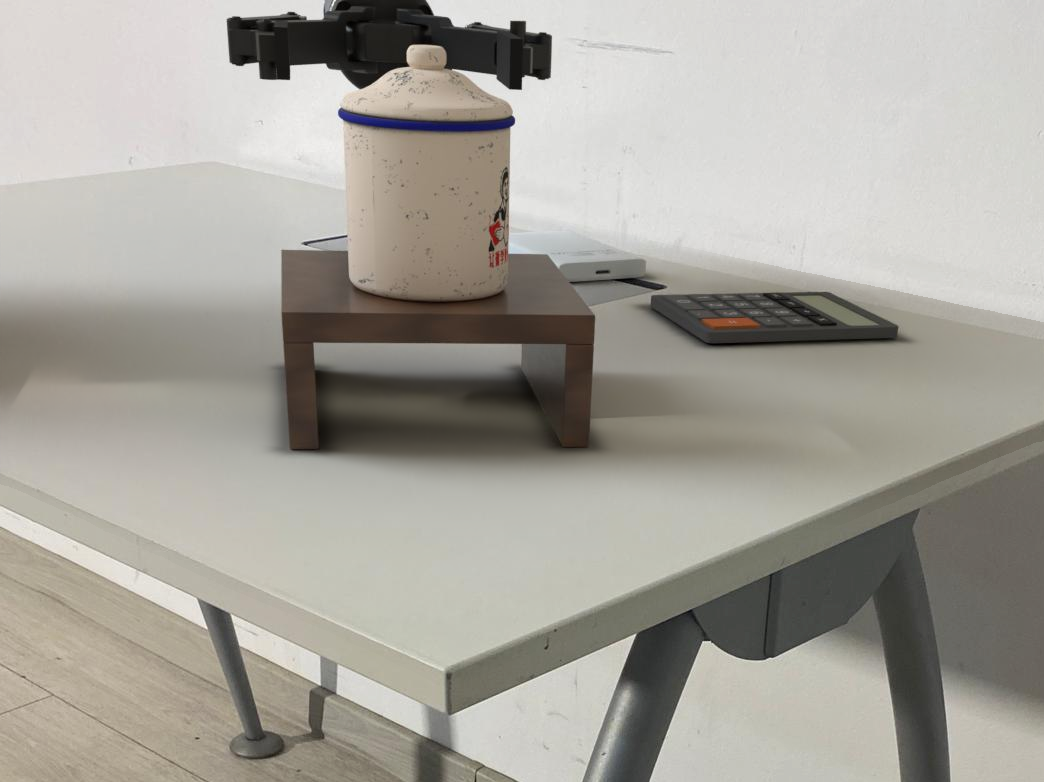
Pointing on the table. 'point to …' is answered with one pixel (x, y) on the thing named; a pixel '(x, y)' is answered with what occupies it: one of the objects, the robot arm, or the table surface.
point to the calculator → (771, 317)
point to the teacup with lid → (427, 183)
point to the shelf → (441, 332)
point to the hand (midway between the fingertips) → (400, 59)
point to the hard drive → (578, 255)
